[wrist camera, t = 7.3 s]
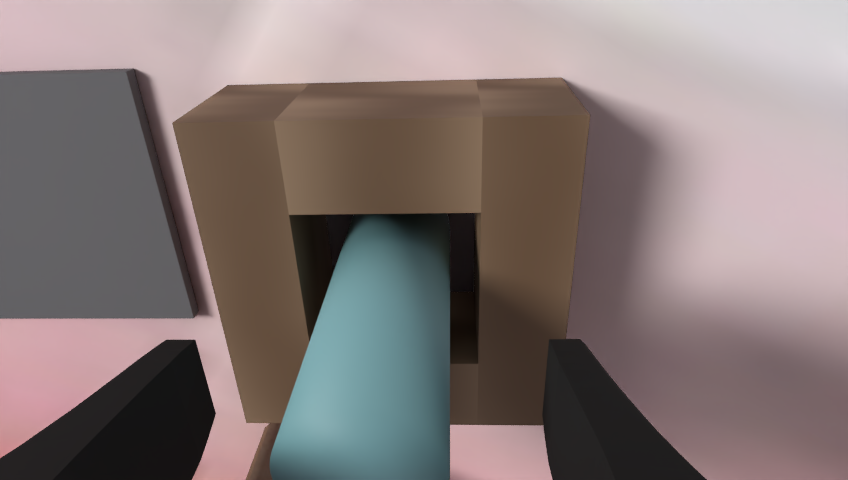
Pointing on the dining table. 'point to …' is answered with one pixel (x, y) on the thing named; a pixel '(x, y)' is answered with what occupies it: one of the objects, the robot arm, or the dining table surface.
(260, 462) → the wooden block
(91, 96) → the mat
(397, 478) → the peg
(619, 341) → the dining table surface
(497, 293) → the hole block
